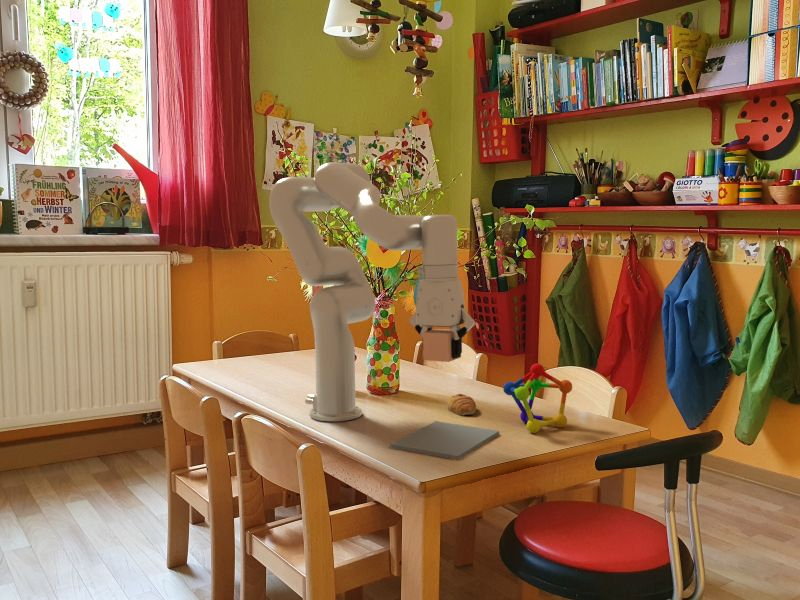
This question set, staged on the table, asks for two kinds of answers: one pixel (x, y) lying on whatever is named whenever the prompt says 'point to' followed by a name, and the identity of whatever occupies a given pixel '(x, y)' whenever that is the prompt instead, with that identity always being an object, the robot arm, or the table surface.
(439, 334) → the cube
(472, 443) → the mat
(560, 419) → the educational toy
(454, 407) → the pastry
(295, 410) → the table surface
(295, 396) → the table surface
